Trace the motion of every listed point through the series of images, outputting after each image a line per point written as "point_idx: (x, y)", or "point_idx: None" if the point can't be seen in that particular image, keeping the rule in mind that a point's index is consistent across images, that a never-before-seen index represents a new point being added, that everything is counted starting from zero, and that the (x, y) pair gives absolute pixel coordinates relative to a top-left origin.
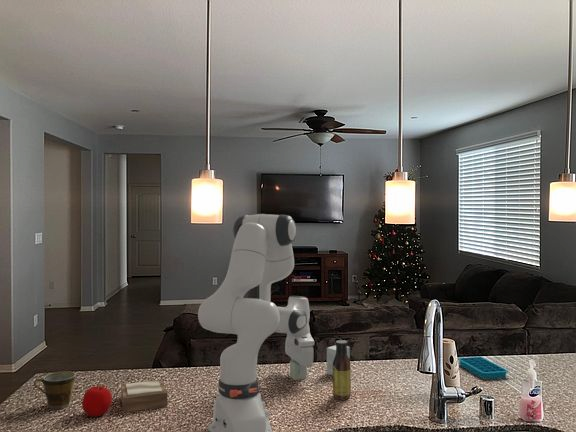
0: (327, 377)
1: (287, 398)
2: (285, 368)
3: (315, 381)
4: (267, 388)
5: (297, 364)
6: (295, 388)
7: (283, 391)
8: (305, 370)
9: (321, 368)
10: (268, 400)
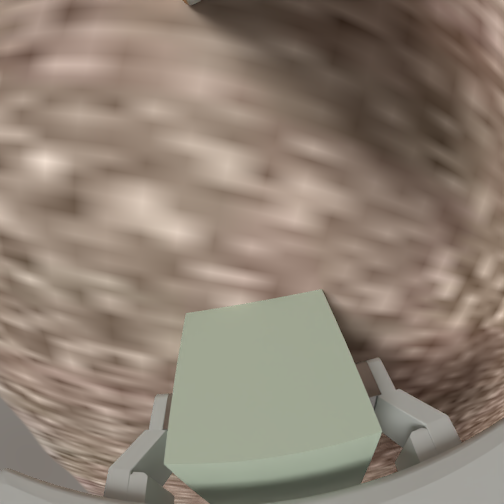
0: (350, 46)
1: (500, 382)
2: (46, 377)
3: (425, 224)
4: (378, 452)
5: (360, 480)
6: (453, 367)
7: (446, 405)
8: (350, 363)
9: (12, 66)
10: (469, 424)
